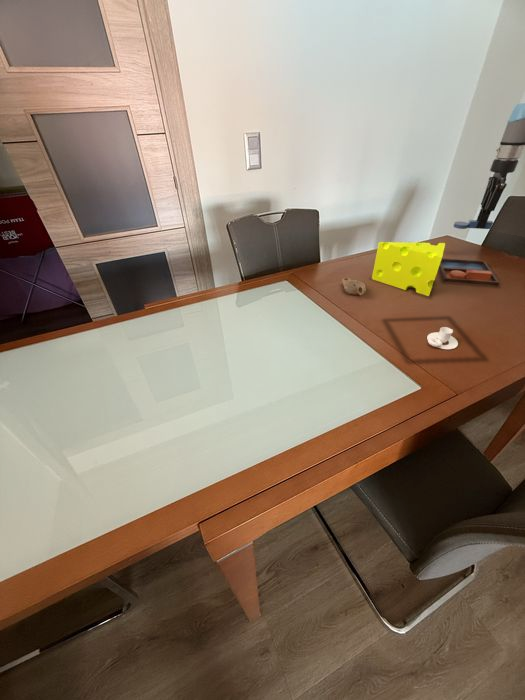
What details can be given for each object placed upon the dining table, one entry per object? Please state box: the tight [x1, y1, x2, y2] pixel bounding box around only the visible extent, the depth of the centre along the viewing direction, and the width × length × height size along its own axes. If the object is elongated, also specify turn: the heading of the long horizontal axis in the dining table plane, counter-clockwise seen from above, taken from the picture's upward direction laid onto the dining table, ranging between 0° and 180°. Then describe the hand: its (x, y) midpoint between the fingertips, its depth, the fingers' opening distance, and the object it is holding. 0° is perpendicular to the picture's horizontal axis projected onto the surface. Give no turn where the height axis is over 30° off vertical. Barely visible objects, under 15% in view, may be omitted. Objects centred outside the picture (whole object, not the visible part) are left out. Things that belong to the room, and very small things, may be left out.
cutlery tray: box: [438, 257, 500, 287], centre depth 118 cm, size 18×19×2 cm
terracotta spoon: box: [449, 270, 492, 280], centre depth 114 cm, size 13×5×3 cm, turn 74°
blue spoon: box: [453, 219, 494, 230], centre depth 123 cm, size 13×5×3 cm, turn 73°
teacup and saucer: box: [426, 326, 459, 350], centre depth 86 cm, size 9×8×4 cm
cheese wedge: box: [371, 241, 446, 297], centre depth 109 cm, size 19×20×15 cm
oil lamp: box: [341, 277, 367, 296], centre depth 110 cm, size 13×8×5 cm, turn 14°
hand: (479, 226), depth 122 cm, fingers closed on blue spoon, 2 cm apart
